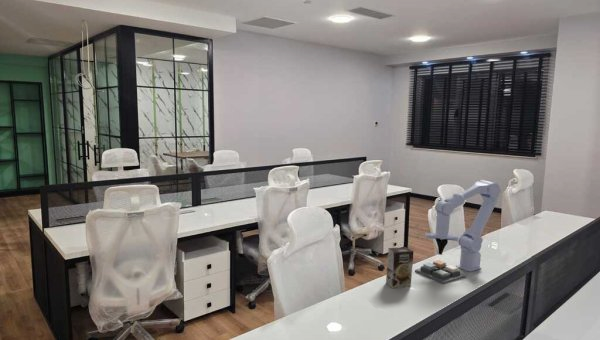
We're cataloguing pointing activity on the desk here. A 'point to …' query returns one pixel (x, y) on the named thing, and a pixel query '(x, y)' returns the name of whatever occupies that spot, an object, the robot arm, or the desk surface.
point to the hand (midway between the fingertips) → (440, 253)
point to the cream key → (451, 268)
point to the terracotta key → (439, 263)
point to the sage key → (441, 272)
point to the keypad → (438, 277)
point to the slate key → (429, 266)
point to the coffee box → (399, 267)
